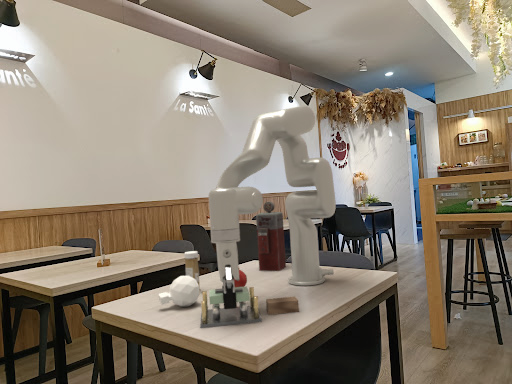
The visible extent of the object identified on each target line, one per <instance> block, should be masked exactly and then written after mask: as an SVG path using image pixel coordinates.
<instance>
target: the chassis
mask: <svg viewBox="0 0 512 384" xmlns="http://www.w3.org/2000/svg"><path fill="white" fill-rule="evenodd" d="M248 291H249V297H250V301H249V304H250V305H248V303H247V301H242V302H238V306H237V308H234V309H224V307H221V308H220V304H212V308H210V309H209V306H208V292H207V290H206V291H205V290H204V291H202V295H201V296H202V301H200V303H201V304H200V305H201V314H200V323H199V324H200V325H199V326H200V329H202V328H203V329H204V328H215V327H222V326H223V327H225V326H235V325H246V324H255V323H262V322H263V319H262V316H261V314H260V311H259V310H260V308H259V296H257V295H256V296H255V288H254V287H253V286H251V287H249V289H248Z"/></svg>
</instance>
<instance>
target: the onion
mask: <svg viewBox="0 0 512 384" xmlns="http://www.w3.org/2000/svg"><path fill="white" fill-rule="evenodd" d="M239 278H240V279H239V281H237V280H235V279H234V286H235V287H246V285H247V283H248V278H247V275H246V273H245V272H243V270H241V269H240V268H239Z"/></svg>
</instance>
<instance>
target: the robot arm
mask: <svg viewBox="0 0 512 384" xmlns="http://www.w3.org/2000/svg"><path fill="white" fill-rule="evenodd" d="M315 125H316V116H315V113H314V110H313V109H312V108H311V107H310V106H308V105H299V106H293V107H290V108H284V109H278V110H275V111H274V110H273V111H270V112H265V113H261V114H258V115H257V116H256V117H255V118H254V119H253V121H252V123H251V125H250V129H249V132H248V134H247V137H246V140H245V143H244V146H243V148H242V151H241V153H240V155H238V156H237V157H236V158H235V159H234V160H233V161H232V162H231V163H230V164H229V165H228V167H226V168H225V169H224V171H223V172H222V173H221V176H220V177H219V179H218V181H217V184H216V188H215V189H211V190H210V191H209V192H208V209H209V210H208V211H209V224H210V225H209V227H210V243H211V244H215V246H216V247H215V248H216V260H217V268H218V270H217V271H218V275H219V280H220V282H221V283H222V287H221V288H224V293H223V302H224V303H223V308H224V309H234V308H237V307H238V305H237V303H238V302H236V292H235V286H234V279H235V280H237V281H239V279H240V278H239V269H240V266H239V254H238V253H239V252H238V245H237V242H238V243H239V242H240V241H241V230H240V218H239V217H240V215H251V214H255V213H257V212H258V211H259V210H260V209H261V208H262V206H263V205H264V203H263V202H264V197H263V194H262V193H261V191H260V190H259V189H257V188H256V187H254V186H240V184H241V183H242V182H243V181H245V180H246V179H247V178H249V177H250V176H252V175H253V174H254V175H255V174H256V173H258V172H260V171H261V170H263V169H264V168H266V167H268V165H269V164H270V161H271V156H272V154H273V151H274V147H275V144H276V142H278V144H279V146H280V148H281V151H282V156H283V157H282V158H283V163H284V172H285V177H286V178H285V179H286V182H287V184H288V185H289V186H290V187H293V188H306V187H307V188H308V187H310V188H311V187H315V190H307V189H306V190H297V191H292V192H291V193H289V194H288V195H287V197H285V202H284V208H285V211H286V215H287V220H288V226H289V239H290V240H289V243H290V244H289V245H290V256H291V257H290V259H291V274H292V276H290V277H288V283H289V284H291V285H295V286H302V287H303V286H305V287H306V286H315V285H319V284H323V283H324V282H325V281H326V280H325V279H326V278H325V276H331V275H335V274H334V269H333V268H322V267H320V255H319V253H320V252H319V240H318V239H319V238H318V230H317V227H316V225H315V223H314V222H313V221H312V219H327V218H328V219H329V218H331V217H332V216H334V214H335V211H336V206H337V204H336V195H335V194H336V193H335V184H334V178H333V177H334V176H333V170H332V166H331V164H330V162H329V161H328V160H327V159H326V158H324V157H312V158H310V156H309V152H308V146H307V142H306V141H305V139H304V138H303V136H302V135H305V134H307V133H310V132H311V131H312V130H313V129H314V127H315Z"/></svg>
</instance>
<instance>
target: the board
mask: <svg viewBox="0 0 512 384" xmlns="http://www.w3.org/2000/svg"><path fill="white" fill-rule="evenodd" d="M235 292H236V303H239V302H242V301H246V302H250V292H249V289H248V286H246V285H245V286H244V287H235ZM223 293H224V288H222V287H221V288H214V289H209V297H208V298H209V305H213V304H219V305H221V304H224V302H223Z"/></svg>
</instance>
